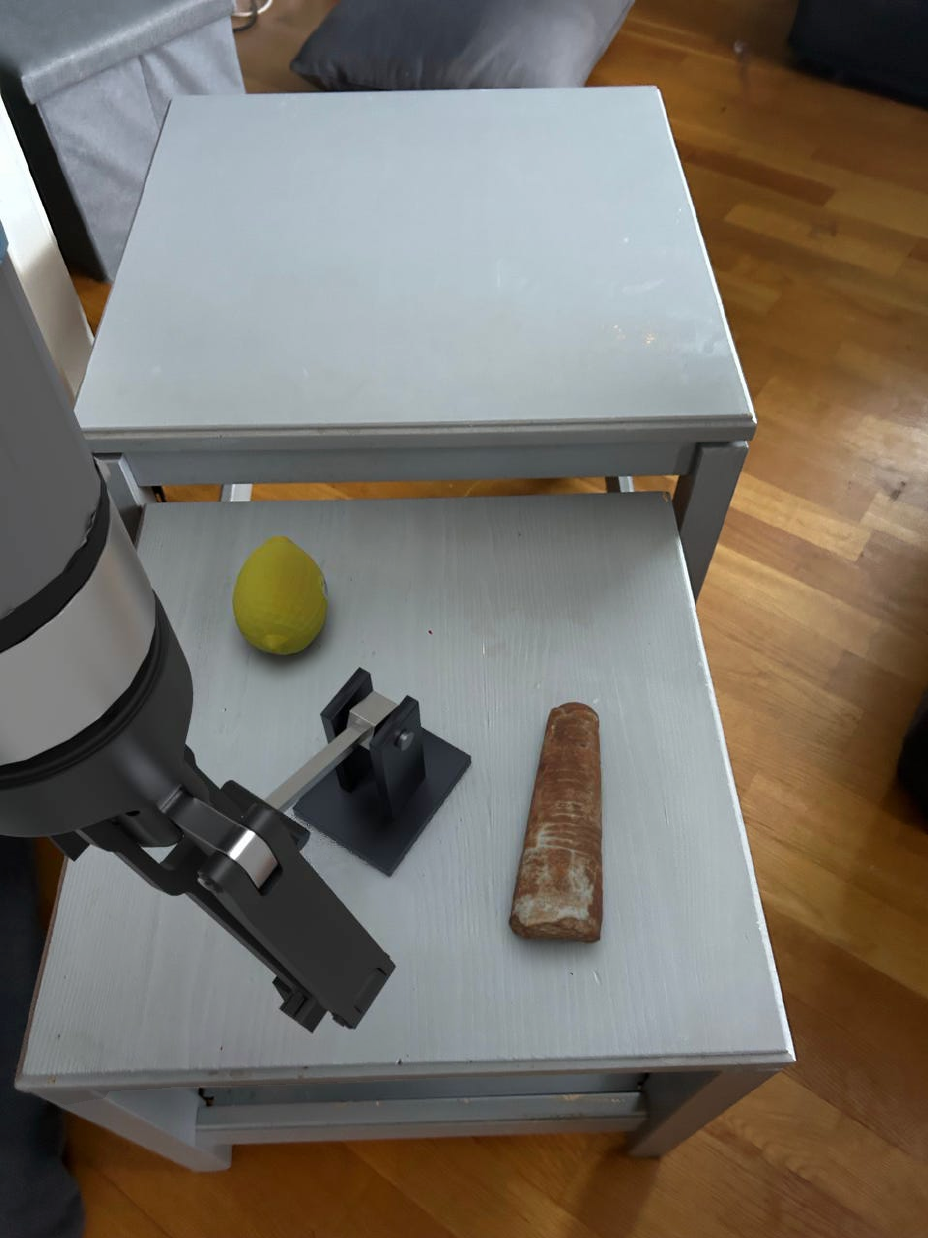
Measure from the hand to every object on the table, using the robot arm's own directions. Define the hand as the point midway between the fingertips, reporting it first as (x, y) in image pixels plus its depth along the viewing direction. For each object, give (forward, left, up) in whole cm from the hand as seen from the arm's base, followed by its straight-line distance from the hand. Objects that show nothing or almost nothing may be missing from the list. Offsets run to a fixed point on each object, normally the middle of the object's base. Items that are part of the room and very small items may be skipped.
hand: (201, 913), depth 42 cm
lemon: (+26, +21, -26) cm, 43 cm away
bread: (+22, -7, -26) cm, 35 cm away
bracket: (+18, +5, -26) cm, 32 cm away
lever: (+12, +5, -14) cm, 20 cm away
